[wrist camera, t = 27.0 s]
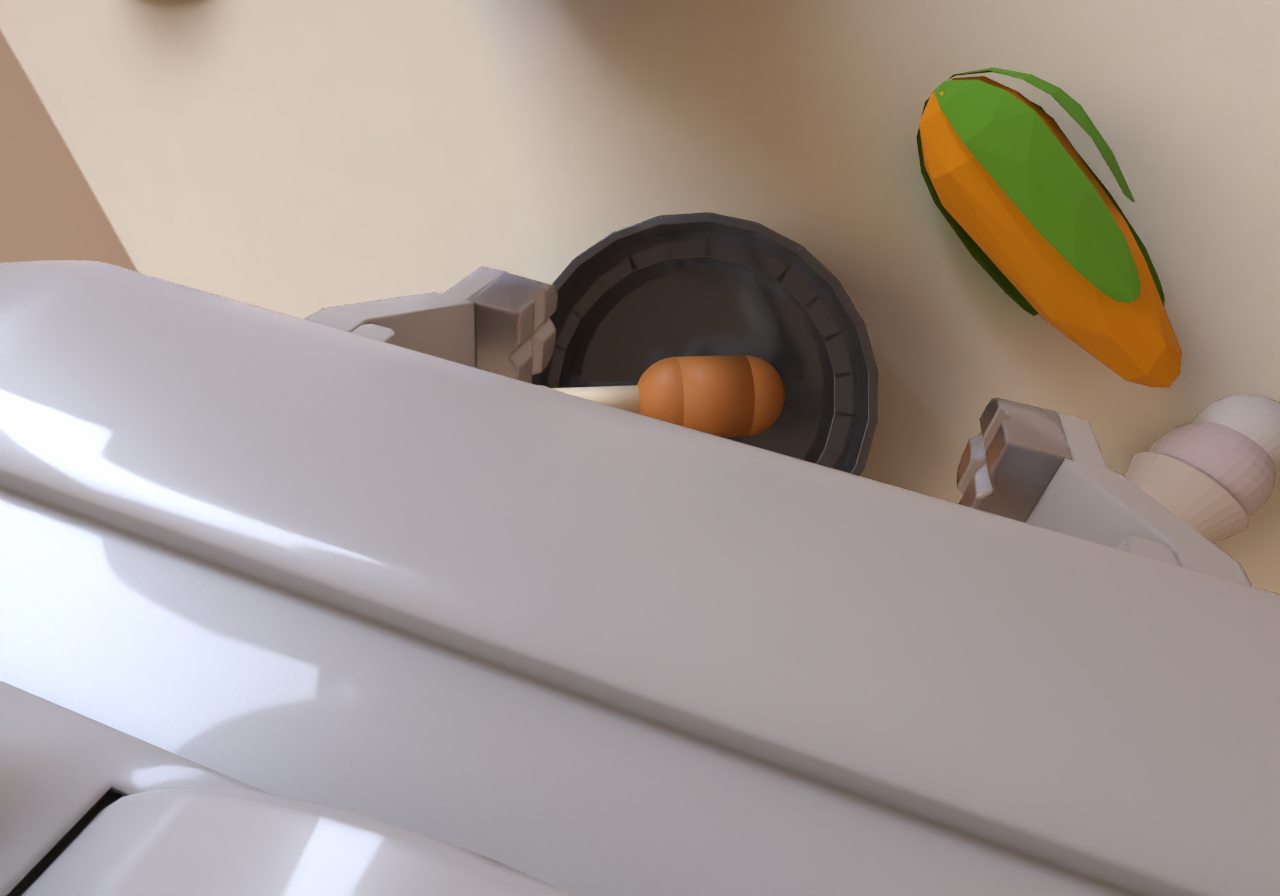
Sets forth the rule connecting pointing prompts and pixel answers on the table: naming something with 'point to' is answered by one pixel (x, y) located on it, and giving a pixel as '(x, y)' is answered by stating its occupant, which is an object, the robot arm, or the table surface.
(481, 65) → the table surface
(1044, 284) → the corn
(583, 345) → the bowl
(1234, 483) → the ice cream cone
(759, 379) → the drumstick
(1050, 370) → the table surface
